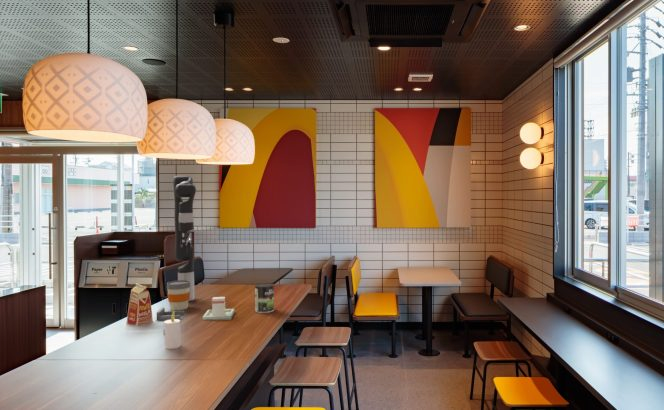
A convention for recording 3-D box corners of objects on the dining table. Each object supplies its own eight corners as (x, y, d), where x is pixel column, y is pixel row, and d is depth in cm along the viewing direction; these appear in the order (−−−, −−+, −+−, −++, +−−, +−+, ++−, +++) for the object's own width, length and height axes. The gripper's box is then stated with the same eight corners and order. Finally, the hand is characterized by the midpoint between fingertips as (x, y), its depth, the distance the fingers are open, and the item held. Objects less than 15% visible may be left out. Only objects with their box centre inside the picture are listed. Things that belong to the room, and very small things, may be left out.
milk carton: (126, 325, 210) (125, 284, 209) (142, 320, 218) (141, 281, 218) (138, 327, 206) (137, 285, 205) (154, 322, 214) (153, 282, 213)
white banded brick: (213, 314, 224) (213, 297, 224) (225, 313, 224) (225, 296, 224) (212, 316, 220) (211, 299, 220) (224, 315, 220) (223, 298, 220)
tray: (207, 313, 229) (207, 309, 229) (234, 312, 230) (234, 308, 230) (202, 321, 215) (202, 317, 215) (230, 319, 216) (230, 315, 216)
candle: (164, 344, 180) (163, 309, 180) (180, 342, 182) (179, 307, 182) (163, 349, 174) (163, 313, 174) (180, 347, 177) (180, 311, 176)
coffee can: (278, 310, 233) (277, 284, 233) (264, 314, 225) (263, 287, 225) (265, 307, 240) (264, 282, 239) (251, 311, 231) (250, 285, 231)
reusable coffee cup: (194, 306, 244) (194, 280, 244) (185, 312, 232) (184, 284, 232) (173, 306, 246) (173, 280, 245) (162, 311, 233) (162, 284, 233)
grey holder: (161, 316, 225) (161, 307, 225) (187, 315, 226) (186, 306, 226) (155, 322, 214) (154, 312, 214) (181, 321, 215) (181, 311, 215)
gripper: (182, 220, 236) (183, 250, 237) (175, 222, 222) (176, 253, 222) (196, 220, 237) (196, 249, 237) (190, 222, 223) (190, 253, 223)
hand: (186, 251), depth 230 cm, fingers open, 8 cm apart
